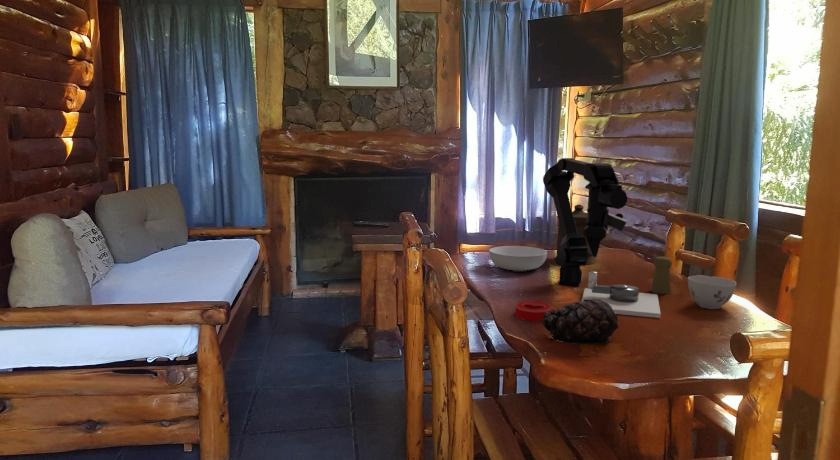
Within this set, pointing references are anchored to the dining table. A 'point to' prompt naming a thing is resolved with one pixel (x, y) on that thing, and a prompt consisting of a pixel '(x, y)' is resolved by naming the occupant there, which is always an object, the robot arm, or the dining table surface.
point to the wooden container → (578, 230)
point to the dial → (613, 289)
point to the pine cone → (582, 322)
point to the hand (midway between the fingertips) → (595, 255)
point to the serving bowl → (517, 257)
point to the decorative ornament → (532, 310)
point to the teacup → (711, 290)
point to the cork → (662, 276)
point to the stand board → (629, 304)
